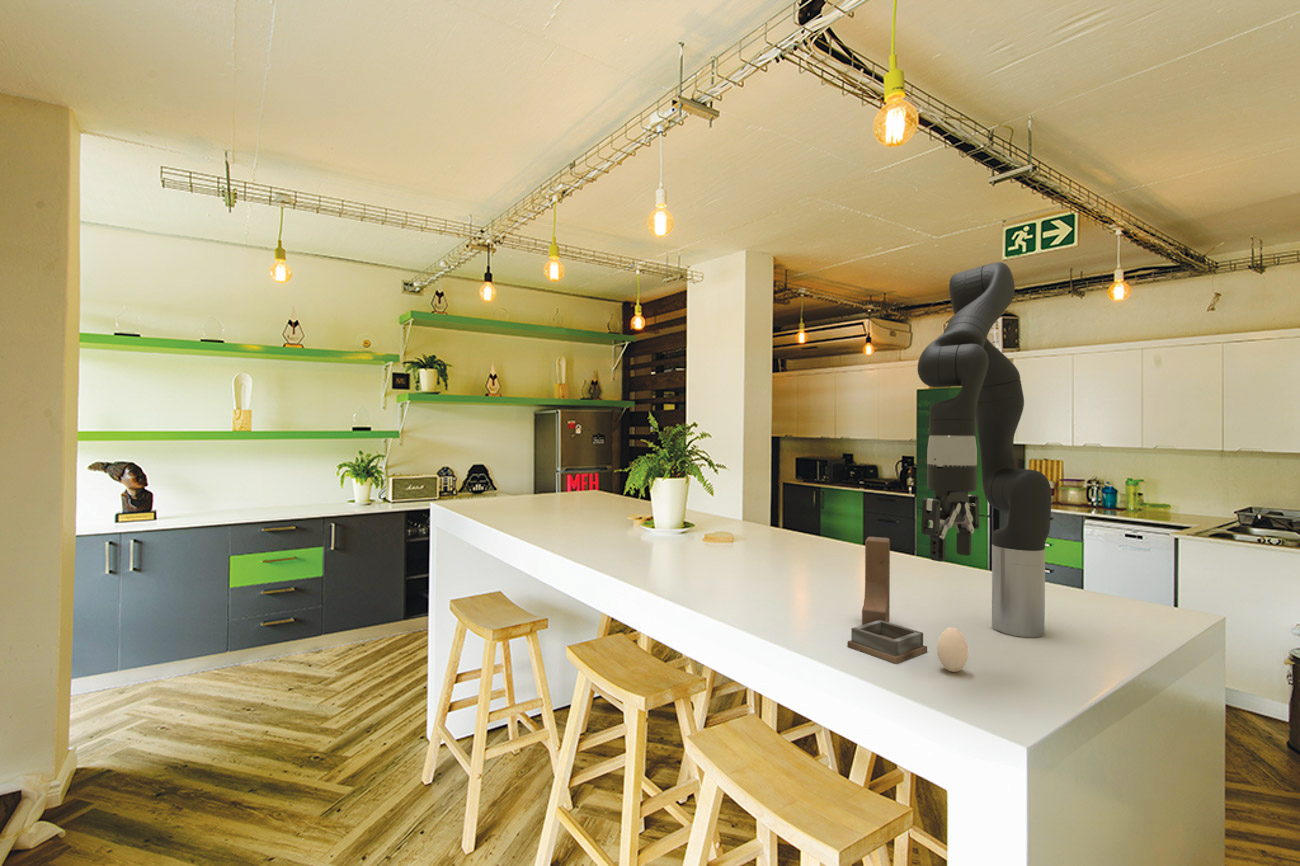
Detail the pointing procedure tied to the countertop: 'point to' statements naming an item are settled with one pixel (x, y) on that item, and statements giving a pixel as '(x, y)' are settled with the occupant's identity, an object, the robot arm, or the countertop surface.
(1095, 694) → the countertop surface
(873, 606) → the wooden block
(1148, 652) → the countertop surface
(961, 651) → the egg
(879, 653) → the holder
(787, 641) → the countertop surface
